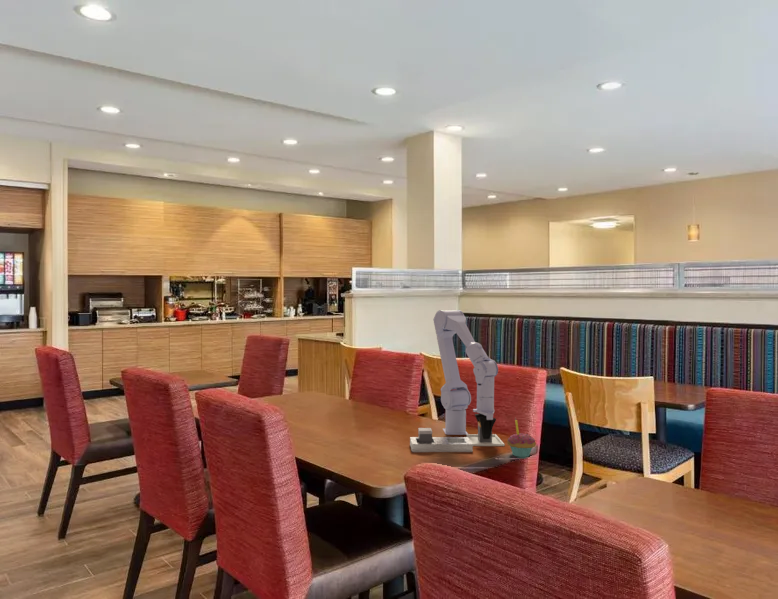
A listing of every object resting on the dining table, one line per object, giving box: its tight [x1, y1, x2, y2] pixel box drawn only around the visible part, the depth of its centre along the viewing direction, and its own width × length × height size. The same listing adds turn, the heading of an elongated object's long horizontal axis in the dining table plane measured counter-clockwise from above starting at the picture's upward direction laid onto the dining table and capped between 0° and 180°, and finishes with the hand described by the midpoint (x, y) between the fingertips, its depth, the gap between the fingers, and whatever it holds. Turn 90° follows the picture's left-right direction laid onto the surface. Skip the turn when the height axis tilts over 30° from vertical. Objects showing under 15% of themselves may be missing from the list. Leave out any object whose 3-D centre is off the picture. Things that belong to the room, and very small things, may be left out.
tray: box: [465, 433, 505, 447], centre depth 205 cm, size 13×10×1 cm
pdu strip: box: [409, 436, 474, 453], centre depth 195 cm, size 9×19×3 cm, turn 92°
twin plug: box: [417, 427, 433, 443], centre depth 195 cm, size 4×4×6 cm
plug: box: [477, 422, 493, 442], centre depth 205 cm, size 4×4×6 cm
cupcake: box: [506, 417, 536, 460], centre depth 188 cm, size 9×8×12 cm
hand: (484, 436), depth 205 cm, fingers closed on plug, 4 cm apart
